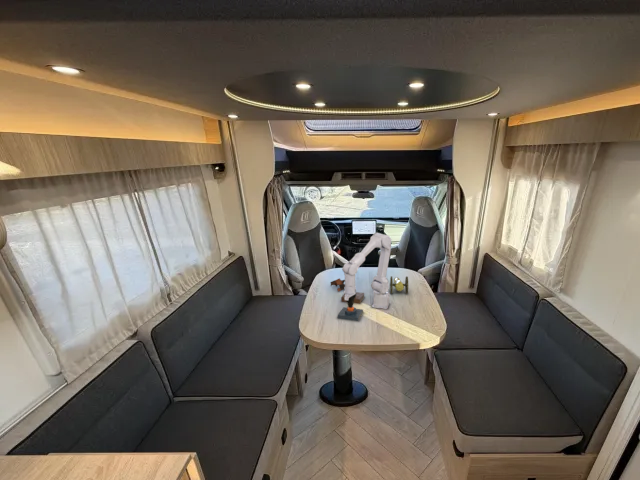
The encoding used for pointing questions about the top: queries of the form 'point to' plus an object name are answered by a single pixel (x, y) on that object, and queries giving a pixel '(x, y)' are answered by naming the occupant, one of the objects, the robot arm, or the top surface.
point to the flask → (350, 314)
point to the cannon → (398, 284)
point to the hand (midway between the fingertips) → (350, 306)
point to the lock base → (357, 299)
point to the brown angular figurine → (338, 282)
